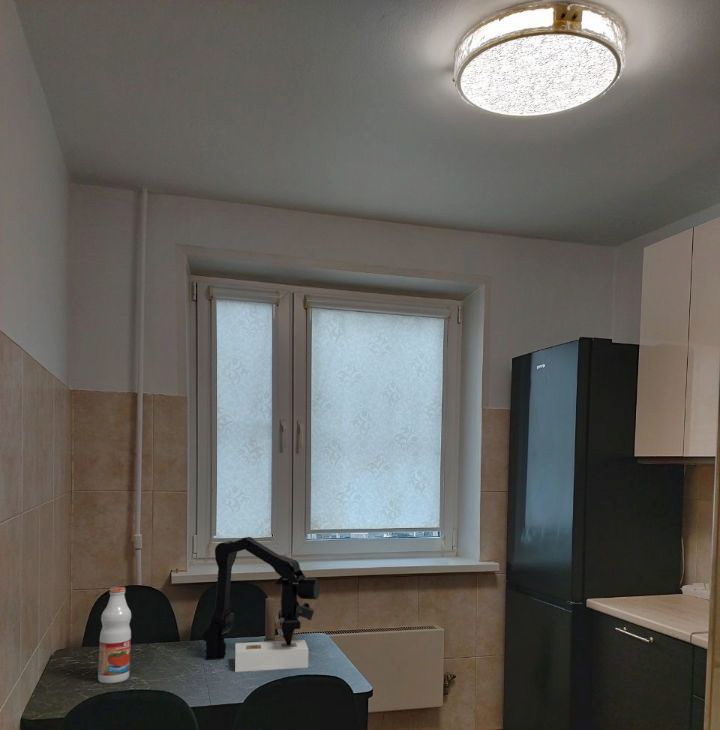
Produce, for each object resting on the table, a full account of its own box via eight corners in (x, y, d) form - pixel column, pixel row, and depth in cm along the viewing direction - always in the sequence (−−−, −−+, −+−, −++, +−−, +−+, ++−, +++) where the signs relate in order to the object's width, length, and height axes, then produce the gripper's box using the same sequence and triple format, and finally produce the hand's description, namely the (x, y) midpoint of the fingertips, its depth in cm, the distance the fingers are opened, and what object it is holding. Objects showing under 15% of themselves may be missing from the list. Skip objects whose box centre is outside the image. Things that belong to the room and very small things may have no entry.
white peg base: (235, 671, 221) (235, 652, 222) (235, 661, 233) (235, 643, 234) (308, 667, 226) (308, 648, 227) (304, 657, 237) (304, 639, 238)
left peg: (246, 666, 226) (247, 649, 227) (246, 662, 230) (246, 645, 231) (260, 665, 227) (260, 648, 227) (259, 661, 231) (259, 645, 232)
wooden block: (294, 648, 250) (294, 597, 252) (265, 651, 246) (266, 599, 249) (291, 645, 253) (292, 595, 256) (263, 648, 249) (264, 597, 252)
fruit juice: (114, 673, 221) (118, 584, 225) (135, 677, 216) (139, 586, 220) (91, 681, 213) (95, 589, 217) (112, 685, 208) (116, 591, 212)
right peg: (282, 664, 228) (282, 647, 229) (281, 660, 232) (282, 643, 233) (295, 663, 229) (295, 646, 230) (294, 659, 233) (294, 643, 234)
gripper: (315, 602, 226) (315, 651, 224) (309, 592, 244) (309, 637, 242) (282, 603, 224) (281, 653, 222) (278, 593, 242) (277, 638, 240)
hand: (288, 645), depth 231 cm, fingers closed, pressing on right peg
